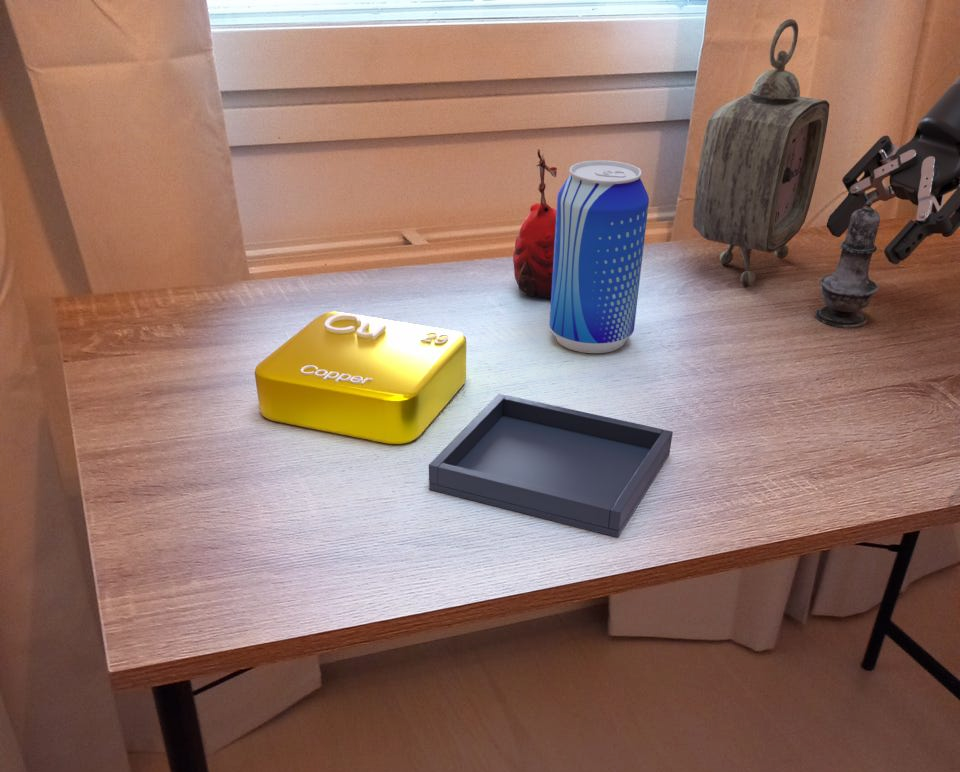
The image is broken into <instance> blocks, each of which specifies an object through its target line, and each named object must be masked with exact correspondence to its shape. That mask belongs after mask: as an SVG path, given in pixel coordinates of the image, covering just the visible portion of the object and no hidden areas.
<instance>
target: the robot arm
mask: <svg viewBox="0 0 960 772" xmlns="http://www.w3.org/2000/svg"><path fill="white" fill-rule="evenodd" d="M862 174H863V176H862V177H861V175H862ZM859 177H860V179H859ZM888 177H889V178H888ZM886 178H888V179H889V180H888V181H889V185H888V184H886V182H885V179H886ZM858 179H859V180H858ZM841 180H842V183H843V185H844V187H845V189H846V190H847V192H848V193H847V196H845V198H844V199H843V200H842V202H841V203H839V205H837V207H836V208H835V210H834V211H833V212H832V213H831V214H830V215H829V216H828V219H827V222H826V228H827V229H828V231H829V233H830V234H831V235H832V236H833V237H835V238H840V237H842V235H843V234H844V233H845V232H847V230H848V226H849V222H850V218H851V215H852V214H853V213H854V212H855V211H856V210H858V209H861V208H863V207H866V202H867V201H868V200H869V199H871V201H872V203H873V204H875V203H877V202H879V201H882V202H887V201H889V200H892V199H894V198H895V197H896V198H897V199H900V200H904V201H910V203H912V205H915V206H917V209H916V213H915V214H916V215H915V220H913V219H910V220H909V221H908V222H907V223H906V225H905V226H904V227H902V229H901V230H900V231H899V232H897V234H896V235H895V237H894V238H893V239H892V240H891V241H889V243H888V244H887V246H885V248H884V250H883V253H884V255H885V257H886V259H887V260H888V262H889V263H891V264H893V265H899V263H901V262H904V260H906V259H908V258H909V257H910V256H911V254H912V253H913V252H914V251H915V250H916V249H917V248H918V247H919V245H920V244H922V242H923V241H924V240H925V239H926V238H927V237H932V236H933V235H934V234H935V235H937V234H939V235H942V237H944V238H949V237H951V236H953V235H954V234H955V232H956V231H957V230H958V229H959V228H960V75H959V76H958V77H957V78H956V79H955V81H953V83H952V84H951V85H950V86H949V87H948V89H946V91H945V92H944V93H943V94H942V95H941V96H940V98H938V100H937V101H936V102H935V103H934V104H933V106H932V107H931V108H929V110H928V111H927V112H926V113H925V114H924V115H923V117H922V118H921V119H920V120H919V121H918V124H917V127H916V130H915V133H914V135H913V137H912V138H911V139H910V140H909V141H908V142H906V143H905V144H903V145H902V146H899V145H897V144H895V143H893V141H892V139H891V138H890V136H889V135H883V136H881V137H880V138H879V139H878V140H877V141H876V142H875V143H874V144H873V145H872V146H871V147H870V148H869V150H867V152H865V154H864V155H863V156H861V158H859V160H858V161H857V162H856V163H855V164H854V165H853V166H852V167H851V168H850V170H848V171H847V173H846V174H845V175H844V176H843V177H842V179H841ZM873 188H874V190H872V191H870V192H868V193H866V192H867V191H869V190H871V189H873ZM953 191H954V192H953ZM951 192H953V193H952V194H951V195H950V196H949V198H948V199H947V200H946V202H945V198H946V197H945V196H946V195H947V194H949V193H951Z"/></svg>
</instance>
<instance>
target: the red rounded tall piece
mask: <svg viewBox="0 0 960 772" xmlns="http://www.w3.org/2000/svg"><path fill="white" fill-rule="evenodd" d="M536 153H537V158H538V159H539V161H538V163H537V165H536V167H538V168H539V178H540V183H539V184H538V187H537V190H538V191H539V193H540V194H541V196H540V202H536V203H533V204H532V205H531V206H530V208H529V214H528V215H527V217H525V219H524V220H523V222H522V224H521V226H520V228H519V231H518V235H517V236H516V238H515V242H514V251H513V255H512V264H513V272H514V273H513V274H514V280H515V281H516V285H517V287H518V289H519V291H520V292H521V293H523V294H526V295H528V296H531V297H537V298H543V299H545V298H549V299H551V294H552V277H553V261H554V245H555V228H556V212H557V208H554V207H552V206H550V205H549V204H548V203H547V200H546V197H545V196H546V194H545V190H546V187H547V186H546V185H547V184H546V183H545V175H546V174H545V173H546V172H545V171H547V172H549V174H551V176H552V177H553V178H557V173H558V171H557V170H558V168H557V167H556V166H548V165H547V164H546V159H545V158H544V152H543V153H541V150H540V149H537V151H536Z"/></svg>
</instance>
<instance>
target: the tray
mask: <svg viewBox="0 0 960 772" xmlns="http://www.w3.org/2000/svg"><path fill="white" fill-rule="evenodd" d="M673 434H674V431H672V430H668V429H663V428H660V427H655V426H650V425H645V424H641V423H636V422H632V421H627V420H622V419H617V418H613V417H608V416H604V415H600V414H594V413H590V412H585V411H581V410H577V409H572V408H567V407H563V406H557V405H553V404H549V403H545V402H540V401H535V400H531V399H526V398H521V397H517V396H512V395H509V394H508V395H507V394H504V393H503V394H502V393H497V395H496V396H495V397H494V398H493V399H492V400H490V401H489V403H487V405H486V406H484V408H483V409H482V410H481V411H480V412H479V413H478V414H477V415H476V416H475V417H474V418H473V419H472V420H471V421H470V422H469V423H468V424H467V425H466V426H465V427H464V428H463V429H462V430H461V431H460V433H458V434H457V435H456V436H455V438H453V439H452V440H451V442H449V444H448V445H446V447H445V448H444V449H443V450H442V451H441V452H440V453H438V455H437V456H436V457H435V458H433V460H432V461H431V462H430V463H429V464H428V489H429V490H431V491H435V492H439V493H443V494H446V495H450V496H455V497H459V498H463V499H466V500H470V501H474V502H477V503H481V504H486V505H489V506H493V507H497V508H500V509H506V510H509V511H512V512H517V513H521V514H524V515H529V516H533V517H535V518H539V519H540V518H541V519H545V520H548V521H552V522H555V523H561V524H564V525H568V526H571V527H576V528H579V529H584V530H588V531H591V532H595V533H599V534H603V535H607V536H612V537H615V538H619V537H620V534H621V533H622V531H623V530H624V528H625V527H626V525H627V523H628V521H630V519H631V517H632V515H633V514H634V512H635V511H636V509H637V507H638V506H639V504H640V502H641V501H642V500H643V498H644V496H645V495H646V493H647V491H648V489H649V488H650V487H651V485H652V484H653V482H654V480H655V479H656V477H657V475H658V473H660V470H661V469H662V467H663V465H664V464H665V463H666V462H667V459H668V457H669V456H670V454H671V453H670V452H671V447H672V440H673Z"/></svg>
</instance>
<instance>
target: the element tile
mask: <svg viewBox="0 0 960 772" xmlns="http://www.w3.org/2000/svg"><path fill="white" fill-rule="evenodd" d="M466 337H467V336H465V335H464V334H463V333H462V332H460V331H456V330H450V329H446V328H439V327H432V326H428V325H427V326H426V325H421V324H414V323H409V322H402V321H397V320H396V321H394V320H389V319H384V318H379V317H372V316H365V315H359V314H353V313H348V312H347V313H346V312H340V311H327V312H325V313H323V314H321V315H318V316H317V317H315V318H314V319H312V321H310V323H308V324H307V325H305V326H304V327H303V328H301V329H300V330H298V332H297V333H295V334H294V335H293V336H292V337H291V338H289V339H288V340H287V341H286V342H284V343H283V344H282V345H280V346H279V347H278V348H276V349H275V350H274V351H273V352H272V353H270V355H269V354H268V356H267V357H265V358H264V359H263V360H262V361H261V362H259V363H258V364H257V365H256V366H255V369H254V378H255V385H256V386H255V387H256V394H257V401H258V408H259V412H260V414H261V415H262V417H264V418H265V419H267V420H270V421H272V422H276V423H281V424H286V425H291V426H296V427H302V428H306V429H312V430H317V431H321V432H325V433H326V432H327V433H333V434H338V435H341V436H347V437H353V438H357V439H363V440H367V441H373V442H378V443H382V444H389V445H403V444H408V443H410V442H412V441H415V440H416V439H418V438H419V437H420V436H421V435H422V434H423V432H424V431H426V429H427V428H428V427H429V425H430V424H431V423H432V422H433V421H434V419H435V418H437V416H438V415H439V414H440V412H441V411H442V410H443V409H444V408H445V407H446V406H447V404H448V403H449V402H451V399H453V397H454V396H455V395H456V394H457V392H459V390H460V389H461V388H462V387H463V386H464V385H465V383H466V381H467V338H466Z"/></svg>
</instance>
